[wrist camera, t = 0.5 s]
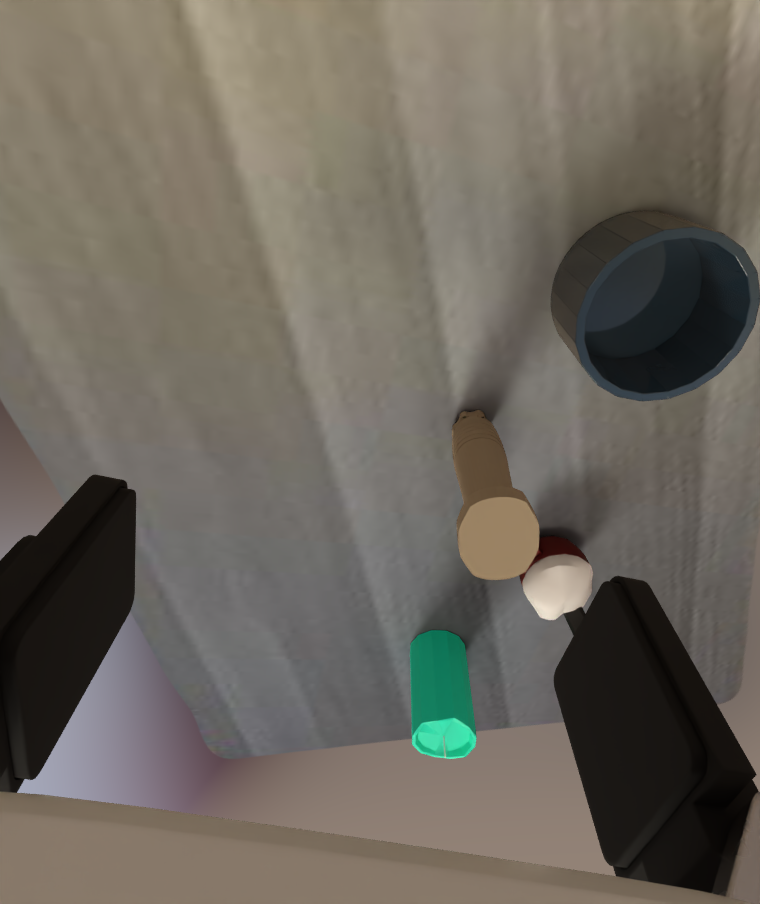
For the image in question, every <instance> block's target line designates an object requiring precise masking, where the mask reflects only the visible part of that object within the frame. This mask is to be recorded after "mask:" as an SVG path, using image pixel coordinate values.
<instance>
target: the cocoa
mask: <svg viewBox="0 0 760 904" xmlns="http://www.w3.org/2000/svg"><path fill="white" fill-rule="evenodd" d="M519 576H520V580H521V584H522V586H523V590H524V593H525V595H526V597H527V598H528V600H529V601H530V603H531V604H532V605H533V607H534V608H535V610H536V612H537V613H538V615H539V616H540V617H541V618H544V619H547V620H555V619H557V618H558V617H559V616H560V615H562V614H564V616H565V618H566V620H567V622H568V624H569V627H570V629H571V631H572V633H573V635H575V633H576V631H577V629H578V627H579V625H580V624H581V622H582V620H583V618H584V616H585V612H584V610H583V608H582V607H583V606H584V605H585V603H586V601H587V600H588V598H589V596H590V594H591V593H592V583H591V582H592V576H593V571H592V567H591V565H590V564H589V562H588V560H587V558H586V557H585V555H584V554H583V553H582V552H581V550H580V549H579V548H578V547H577V546H575V545H574V544H573V543H572V542H570V541H569V540H568V539H565V538H561V537H556V536H547V537H541V538H539V547H538V551H537V554H536V556H535V558H534V559H533V561H532V563H531V564H530V566H529V567H528V569H527V570H526V572H524V573H522V574H520V575H519Z"/></svg>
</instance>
